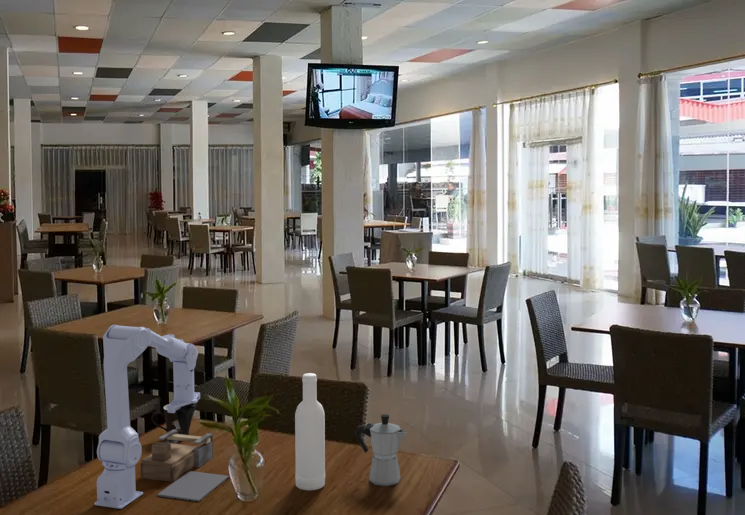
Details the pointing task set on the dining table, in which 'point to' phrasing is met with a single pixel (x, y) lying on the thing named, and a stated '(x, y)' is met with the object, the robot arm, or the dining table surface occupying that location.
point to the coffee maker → (383, 450)
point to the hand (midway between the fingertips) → (185, 430)
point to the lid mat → (193, 486)
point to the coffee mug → (170, 421)
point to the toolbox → (175, 472)
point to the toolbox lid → (168, 454)
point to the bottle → (310, 438)
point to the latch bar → (187, 438)
